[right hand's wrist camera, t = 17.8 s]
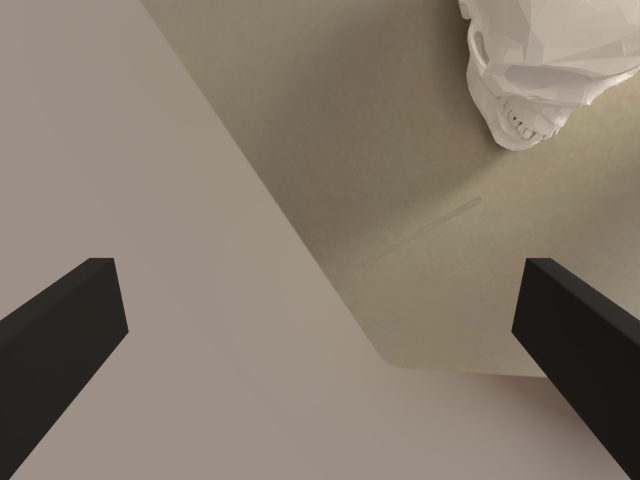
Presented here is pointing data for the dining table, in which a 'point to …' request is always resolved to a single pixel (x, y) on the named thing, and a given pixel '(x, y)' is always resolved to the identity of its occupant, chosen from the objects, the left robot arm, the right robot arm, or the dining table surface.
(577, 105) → the skull
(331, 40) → the dining table surface
